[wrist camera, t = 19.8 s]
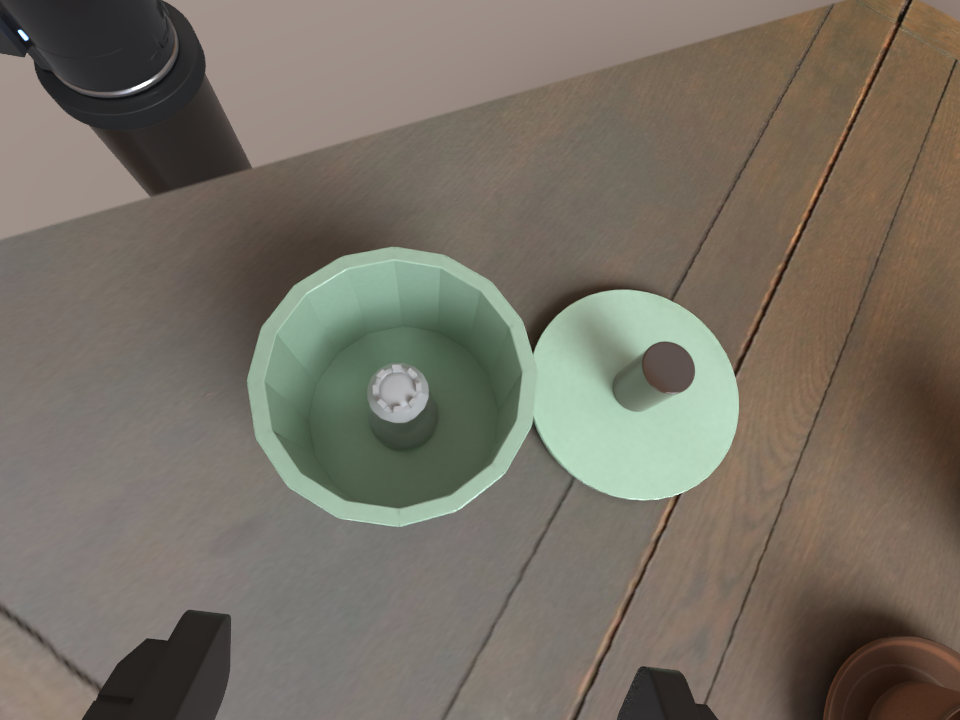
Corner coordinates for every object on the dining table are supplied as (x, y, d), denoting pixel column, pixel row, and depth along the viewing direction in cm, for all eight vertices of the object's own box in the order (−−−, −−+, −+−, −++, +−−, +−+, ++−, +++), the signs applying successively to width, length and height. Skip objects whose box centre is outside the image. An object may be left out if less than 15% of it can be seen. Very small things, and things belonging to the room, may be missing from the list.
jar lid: (513, 483, 36) (531, 475, 30) (537, 280, 40) (557, 235, 34) (730, 515, 36) (793, 514, 30) (731, 312, 41) (786, 274, 34)
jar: (276, 507, 34) (213, 500, 24) (324, 305, 38) (287, 228, 28) (493, 537, 35) (519, 544, 25) (518, 336, 39) (549, 271, 29)
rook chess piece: (442, 388, 37) (446, 352, 29) (432, 455, 35) (434, 436, 28) (375, 378, 36) (361, 340, 29) (363, 445, 35) (345, 424, 27)
